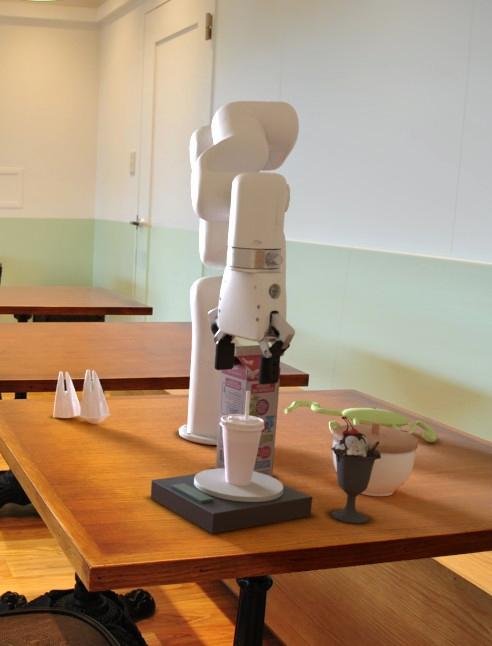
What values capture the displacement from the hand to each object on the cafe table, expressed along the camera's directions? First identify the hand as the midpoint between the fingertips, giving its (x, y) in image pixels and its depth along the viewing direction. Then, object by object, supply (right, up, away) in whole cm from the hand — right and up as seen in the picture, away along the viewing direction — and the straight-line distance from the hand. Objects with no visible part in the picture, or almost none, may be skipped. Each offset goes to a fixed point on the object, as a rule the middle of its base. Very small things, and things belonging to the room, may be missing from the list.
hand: (245, 376), depth 123 cm
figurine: (+35, -14, +44) cm, 58 cm away
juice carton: (+5, -17, +18) cm, 26 cm away
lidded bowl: (+23, -19, +12) cm, 32 cm away
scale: (-2, -20, +2) cm, 20 cm away
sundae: (+15, -21, -1) cm, 26 cm away
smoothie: (0, -16, +2) cm, 16 cm away
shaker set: (-20, -11, +50) cm, 55 cm away
